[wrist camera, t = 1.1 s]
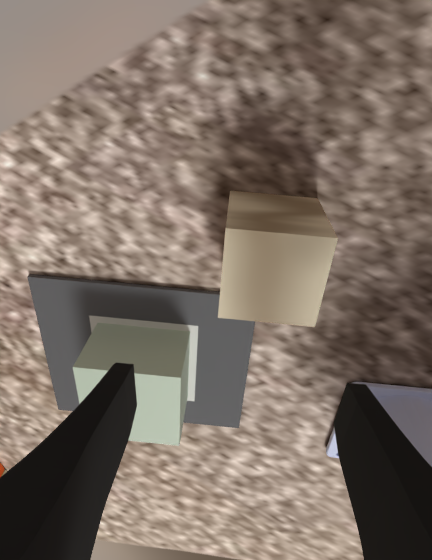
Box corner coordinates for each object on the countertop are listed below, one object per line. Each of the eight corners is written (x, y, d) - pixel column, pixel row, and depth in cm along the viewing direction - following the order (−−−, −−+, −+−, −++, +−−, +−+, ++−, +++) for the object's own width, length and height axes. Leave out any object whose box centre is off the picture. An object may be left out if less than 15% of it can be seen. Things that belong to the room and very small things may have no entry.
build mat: (258, 295, 22) (258, 298, 22) (238, 424, 28) (238, 428, 28) (29, 274, 22) (27, 277, 22) (60, 406, 29) (58, 409, 28)
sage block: (190, 331, 23) (180, 378, 20) (187, 396, 27) (179, 445, 23) (97, 322, 24) (72, 367, 20) (105, 387, 27) (85, 436, 23)
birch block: (317, 197, 19) (338, 238, 15) (301, 273, 21) (314, 327, 17) (230, 190, 19) (225, 228, 15) (223, 266, 21) (217, 317, 17)
